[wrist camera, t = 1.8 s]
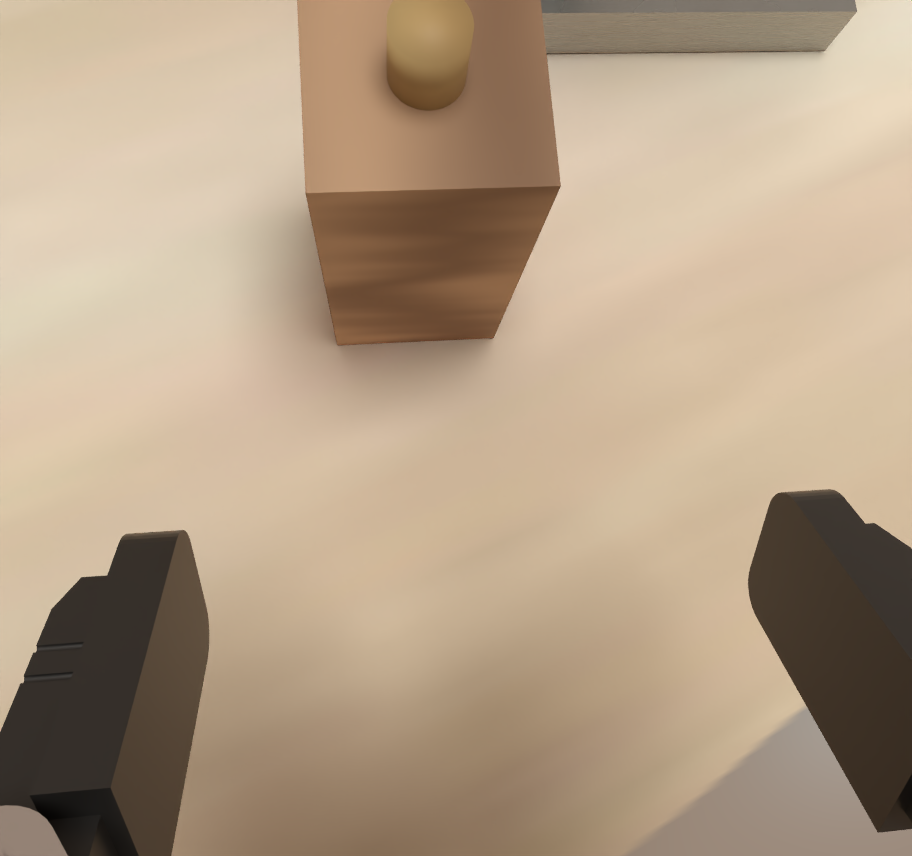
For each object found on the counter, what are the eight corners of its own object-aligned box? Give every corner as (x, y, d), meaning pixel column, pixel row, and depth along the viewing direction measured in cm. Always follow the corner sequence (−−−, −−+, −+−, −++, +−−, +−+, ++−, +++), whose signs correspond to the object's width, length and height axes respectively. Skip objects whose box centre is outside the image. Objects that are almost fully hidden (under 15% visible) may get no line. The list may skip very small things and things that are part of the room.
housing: (337, 345, 25) (296, 151, 14) (330, 198, 26) (286, -96, 15) (493, 337, 25) (578, 145, 14) (481, 194, 26) (551, -94, 15)
